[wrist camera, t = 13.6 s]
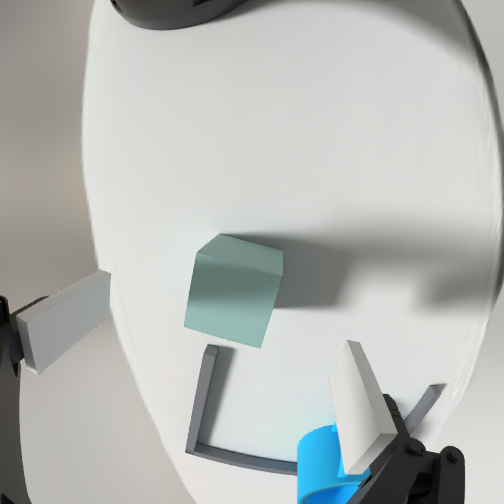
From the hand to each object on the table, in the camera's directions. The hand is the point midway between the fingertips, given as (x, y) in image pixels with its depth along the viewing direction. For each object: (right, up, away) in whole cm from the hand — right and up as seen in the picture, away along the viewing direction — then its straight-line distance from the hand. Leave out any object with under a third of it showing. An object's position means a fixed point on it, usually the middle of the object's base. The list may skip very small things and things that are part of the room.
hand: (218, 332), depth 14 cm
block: (+1, +2, +8) cm, 9 cm away
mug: (+11, -17, +12) cm, 23 cm away
